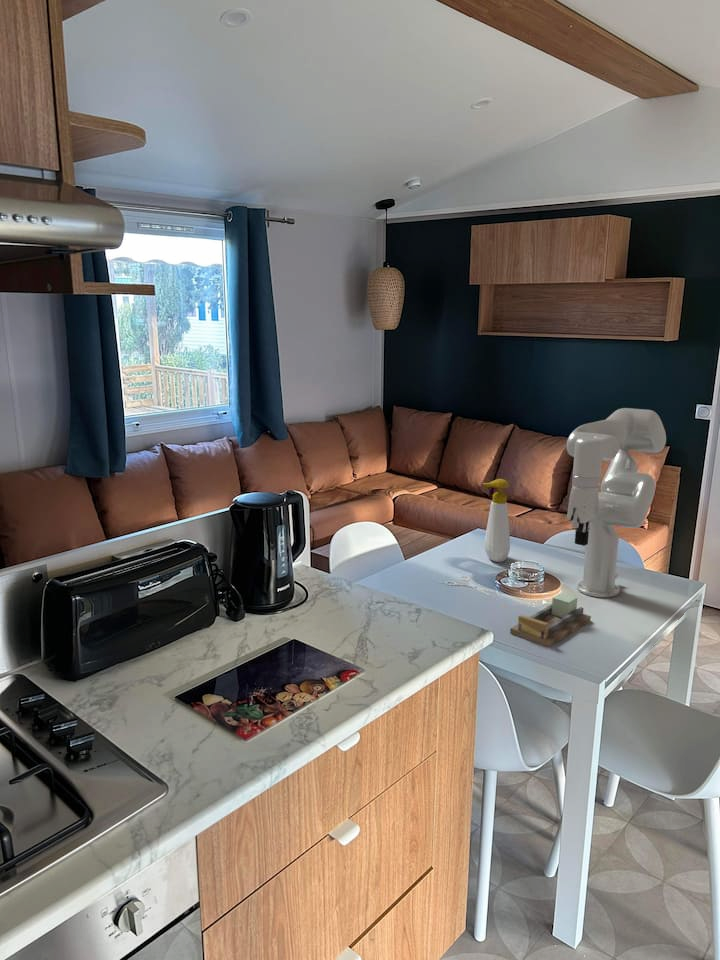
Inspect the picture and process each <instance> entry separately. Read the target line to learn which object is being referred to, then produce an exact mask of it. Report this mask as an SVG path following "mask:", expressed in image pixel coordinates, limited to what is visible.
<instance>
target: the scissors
mask: <svg viewBox="0 0 720 960" xmlns="http://www.w3.org/2000/svg"><path fill="white" fill-rule="evenodd" d="M459 579H460V580H461V581H465V582H467V583H468V584H461V583H460V584H459V583H456V581H451V580H450V581H438V584H444V585H446V586H449V587H450V586H451V587H452V586H453V587H455V586H459V587H468V588H472V589H475V590H477V591H479V592H480V593H483V594H485V595H487V596H489V597H491V598H494V596H493V595H491V594H489V593H487V592H491V593H495V594H498V592H497V591H494V590H490V589H487V588H482V587H479V586H477V585H475V584H473V583H472V582H471V581H470V577H469V576H465V575H463V576H459ZM486 591H487V592H486Z"/></svg>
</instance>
